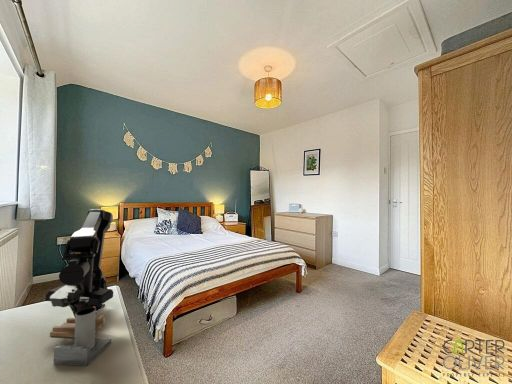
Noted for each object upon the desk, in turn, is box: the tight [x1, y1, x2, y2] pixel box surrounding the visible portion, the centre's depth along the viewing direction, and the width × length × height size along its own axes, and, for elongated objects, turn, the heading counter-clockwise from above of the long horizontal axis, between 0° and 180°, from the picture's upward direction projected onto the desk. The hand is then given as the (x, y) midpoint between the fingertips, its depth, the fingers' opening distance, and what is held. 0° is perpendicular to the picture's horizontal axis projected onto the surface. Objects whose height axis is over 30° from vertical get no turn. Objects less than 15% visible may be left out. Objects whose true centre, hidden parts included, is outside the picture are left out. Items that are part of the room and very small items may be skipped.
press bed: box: [53, 337, 113, 367], centre depth 61 cm, size 9×9×4 cm
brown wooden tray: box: [49, 314, 105, 338], centre depth 71 cm, size 7×12×3 cm, turn 87°
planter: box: [73, 307, 97, 349], centre depth 61 cm, size 4×4×10 cm
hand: (78, 321), depth 71 cm, fingers closed
